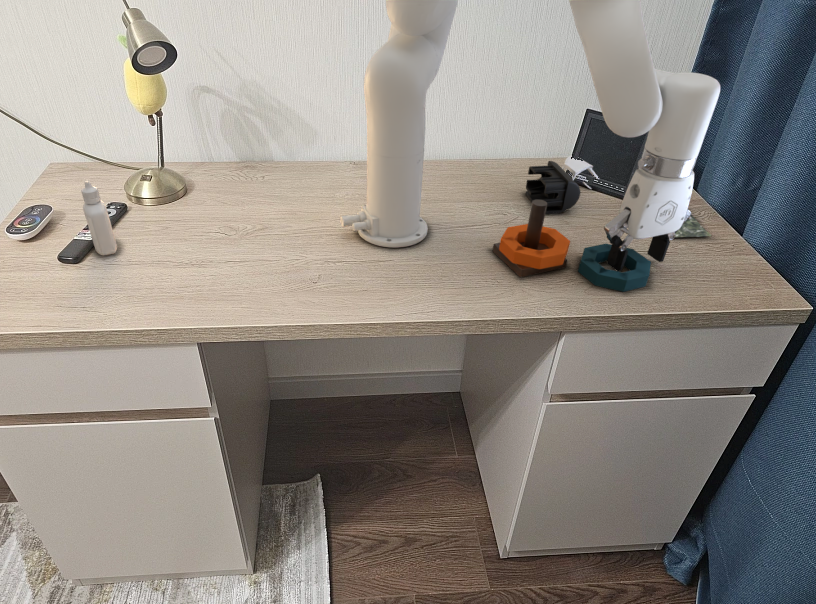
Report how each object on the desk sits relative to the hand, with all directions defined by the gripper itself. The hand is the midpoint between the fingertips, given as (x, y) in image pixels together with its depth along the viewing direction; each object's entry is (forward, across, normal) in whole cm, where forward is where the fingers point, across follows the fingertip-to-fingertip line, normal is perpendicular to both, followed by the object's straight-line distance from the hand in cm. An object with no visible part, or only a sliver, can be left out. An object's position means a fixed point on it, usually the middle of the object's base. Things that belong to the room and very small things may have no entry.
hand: (634, 262), depth 103 cm
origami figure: (+1, +11, +32) cm, 33 cm away
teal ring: (+1, -4, 0) cm, 4 cm away
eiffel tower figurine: (+1, +19, +12) cm, 22 cm away
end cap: (+1, +1, +26) cm, 26 cm away
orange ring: (-1, -15, +8) cm, 17 cm away
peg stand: (+1, -15, +8) cm, 18 cm away
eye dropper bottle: (+1, -81, +36) cm, 89 cm away
